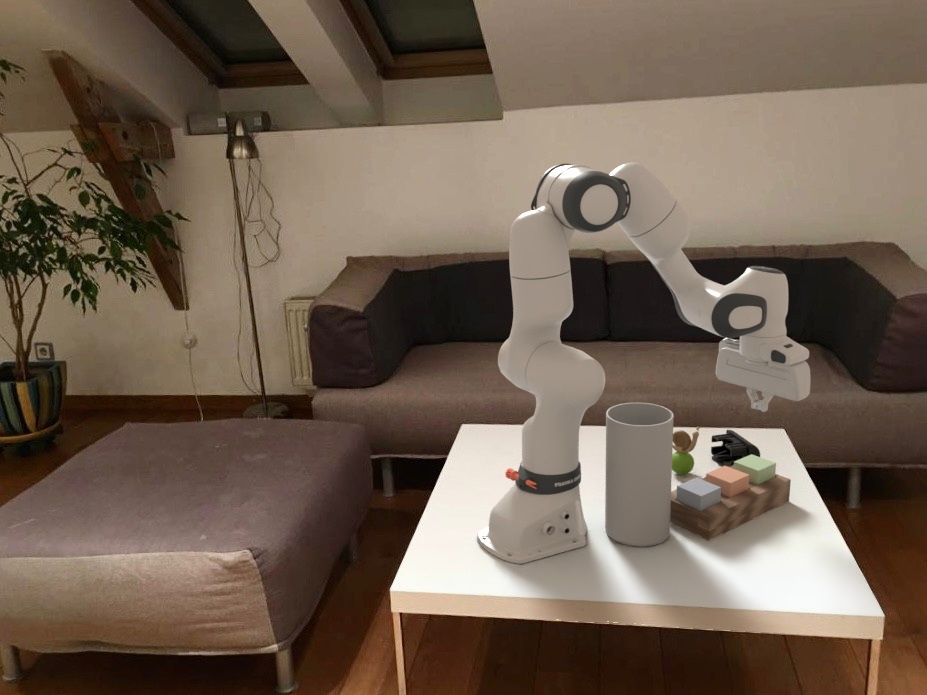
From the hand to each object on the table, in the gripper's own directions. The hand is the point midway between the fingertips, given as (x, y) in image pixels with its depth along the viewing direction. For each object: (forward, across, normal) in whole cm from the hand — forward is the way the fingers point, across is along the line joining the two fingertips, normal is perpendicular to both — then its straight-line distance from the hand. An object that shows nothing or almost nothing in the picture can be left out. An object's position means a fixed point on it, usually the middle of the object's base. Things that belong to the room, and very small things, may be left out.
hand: (759, 409), depth 171 cm
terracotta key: (+16, 0, -10) cm, 18 cm away
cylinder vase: (+19, -5, -31) cm, 37 cm away
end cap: (+20, -13, +10) cm, 26 cm away
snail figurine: (+20, -17, -3) cm, 26 cm away
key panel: (+20, 0, -10) cm, 22 cm away
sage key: (+16, 0, -1) cm, 16 cm away
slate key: (+15, 0, -19) cm, 24 cm away
